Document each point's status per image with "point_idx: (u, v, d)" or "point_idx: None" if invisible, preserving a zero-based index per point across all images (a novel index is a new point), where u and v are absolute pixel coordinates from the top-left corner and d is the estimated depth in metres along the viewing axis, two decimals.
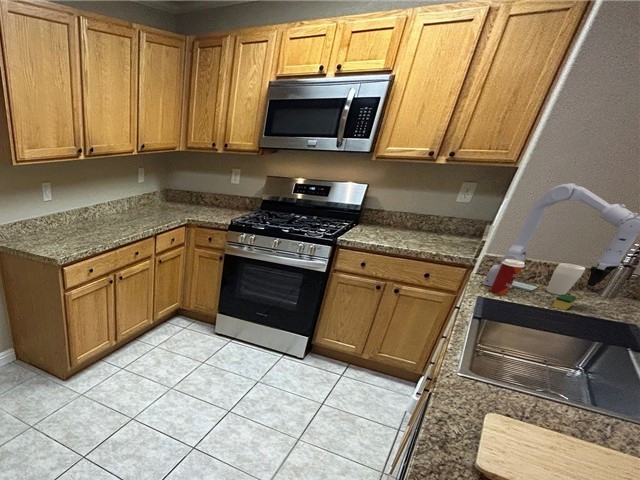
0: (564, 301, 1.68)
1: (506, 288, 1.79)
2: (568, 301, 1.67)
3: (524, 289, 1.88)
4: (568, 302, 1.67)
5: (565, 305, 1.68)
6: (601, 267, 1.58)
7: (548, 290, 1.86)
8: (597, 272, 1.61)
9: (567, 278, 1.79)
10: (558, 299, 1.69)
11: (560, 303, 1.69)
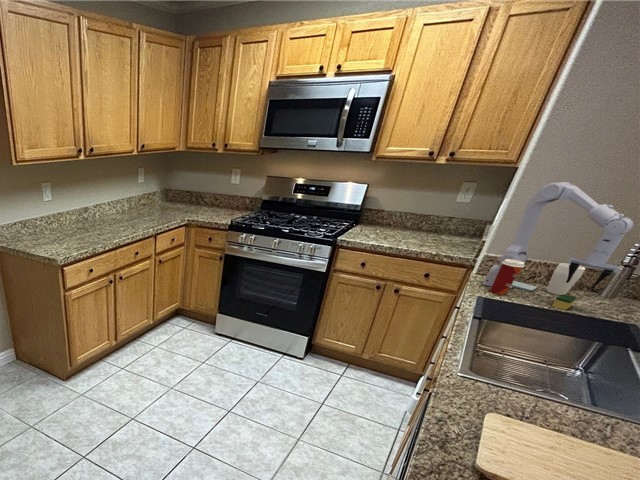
0: (564, 301, 1.68)
1: (506, 288, 1.79)
2: (568, 301, 1.67)
3: (524, 289, 1.88)
4: (568, 302, 1.67)
5: (565, 305, 1.68)
6: None
7: (548, 290, 1.86)
8: None
9: None
10: (558, 299, 1.69)
11: (560, 303, 1.69)
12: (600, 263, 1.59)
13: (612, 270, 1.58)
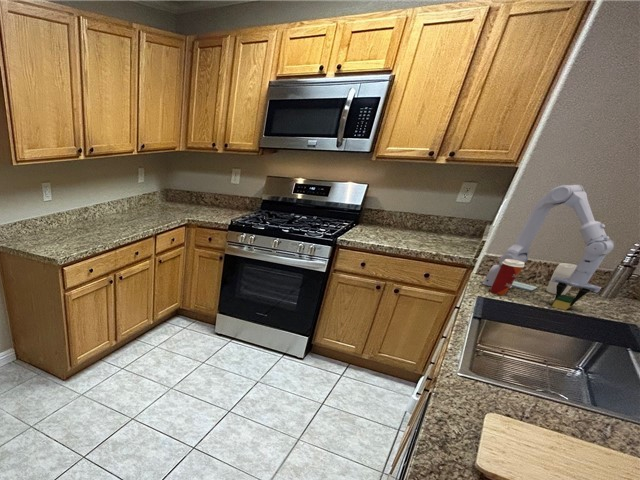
0: (564, 301, 1.68)
1: (506, 288, 1.79)
2: (568, 301, 1.67)
3: (524, 289, 1.88)
4: (568, 302, 1.67)
5: (565, 305, 1.68)
6: None
7: (548, 290, 1.86)
8: None
9: (567, 278, 1.79)
10: (558, 299, 1.69)
11: (560, 303, 1.69)
12: (581, 283, 1.63)
13: (589, 289, 1.63)
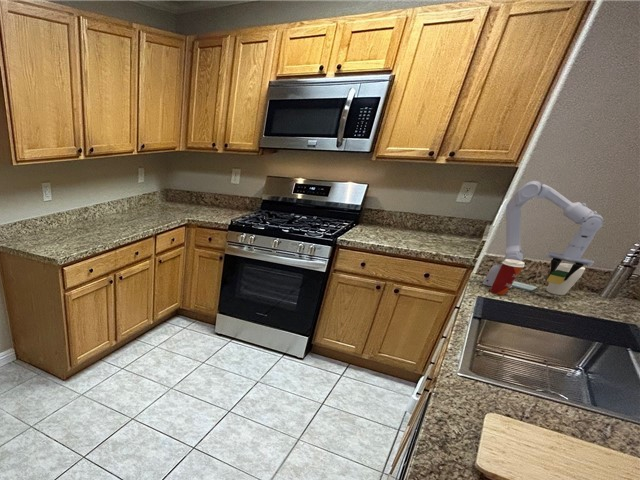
0: (558, 276, 1.73)
1: (506, 288, 1.79)
2: (562, 275, 1.72)
3: (524, 289, 1.88)
4: (562, 276, 1.72)
5: (559, 279, 1.73)
6: None
7: (548, 290, 1.86)
8: None
9: None
10: (552, 274, 1.75)
11: (554, 278, 1.74)
12: (575, 257, 1.69)
13: (582, 263, 1.69)
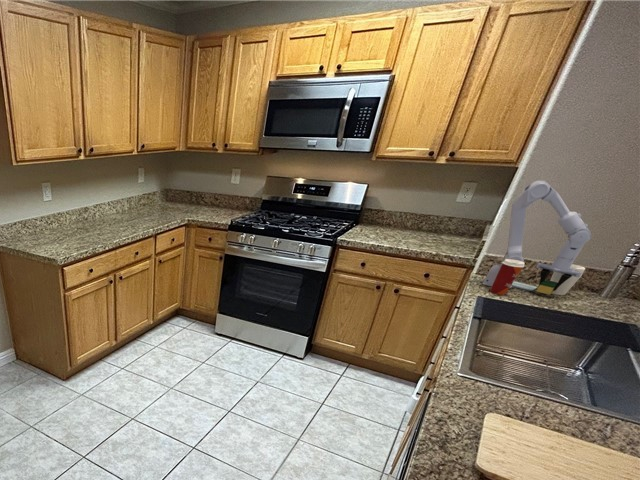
0: (548, 286, 1.78)
1: (506, 288, 1.79)
2: (551, 286, 1.77)
3: (524, 289, 1.88)
4: (551, 287, 1.77)
5: (549, 290, 1.78)
6: None
7: None
8: None
9: None
10: (542, 284, 1.79)
11: (544, 288, 1.79)
12: (563, 268, 1.74)
13: (571, 274, 1.74)
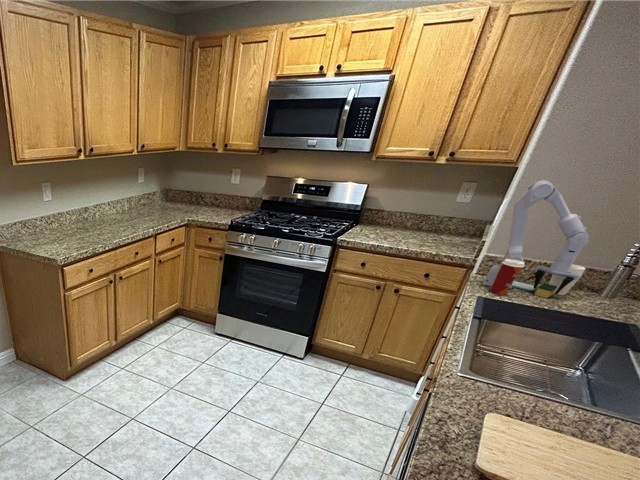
0: (545, 289, 1.79)
1: (506, 288, 1.79)
2: (549, 289, 1.78)
3: (524, 289, 1.88)
4: (549, 290, 1.78)
5: (546, 293, 1.79)
6: None
7: None
8: None
9: None
10: (540, 288, 1.80)
11: (542, 291, 1.80)
12: (562, 271, 1.74)
13: (573, 277, 1.73)
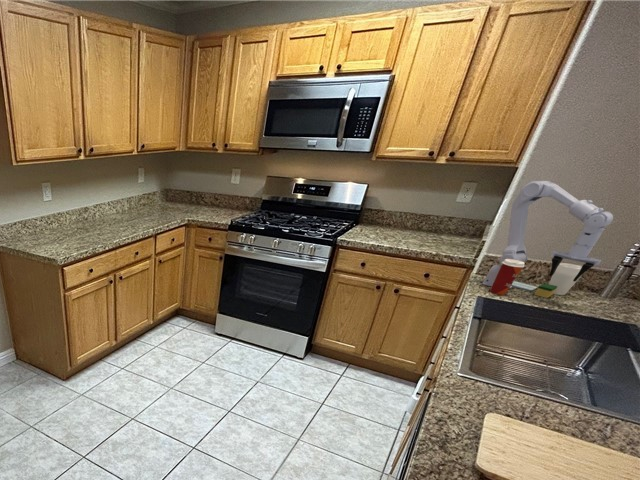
0: (545, 289, 1.79)
1: (506, 288, 1.79)
2: (549, 289, 1.78)
3: (524, 289, 1.88)
4: (549, 290, 1.78)
5: (546, 293, 1.79)
6: None
7: None
8: None
9: (567, 278, 1.79)
10: (540, 288, 1.80)
11: (542, 291, 1.80)
12: (581, 256, 1.63)
13: (593, 263, 1.62)
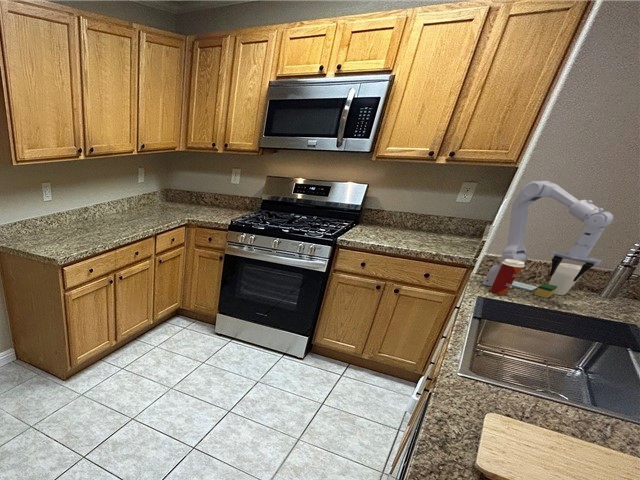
0: (545, 289, 1.79)
1: (506, 288, 1.79)
2: (549, 289, 1.78)
3: (524, 289, 1.88)
4: (549, 290, 1.78)
5: (546, 293, 1.79)
6: None
7: None
8: None
9: (567, 278, 1.79)
10: (540, 288, 1.80)
11: (542, 291, 1.80)
12: (581, 256, 1.63)
13: (593, 263, 1.62)
